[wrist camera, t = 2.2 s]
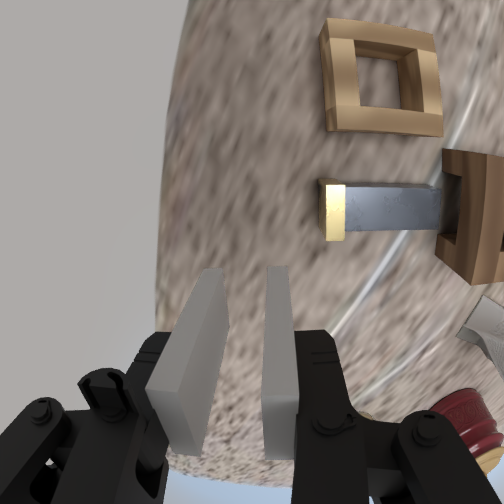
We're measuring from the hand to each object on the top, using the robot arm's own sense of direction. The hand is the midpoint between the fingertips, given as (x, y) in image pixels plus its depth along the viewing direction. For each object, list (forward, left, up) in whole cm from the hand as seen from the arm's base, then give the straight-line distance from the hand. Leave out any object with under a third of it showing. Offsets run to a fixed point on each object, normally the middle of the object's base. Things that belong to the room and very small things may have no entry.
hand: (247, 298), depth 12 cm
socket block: (0, +26, -18) cm, 31 cm away
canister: (+37, +32, -19) cm, 53 cm away
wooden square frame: (-12, +12, -18) cm, 25 cm away
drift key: (0, +12, -18) cm, 22 cm away
